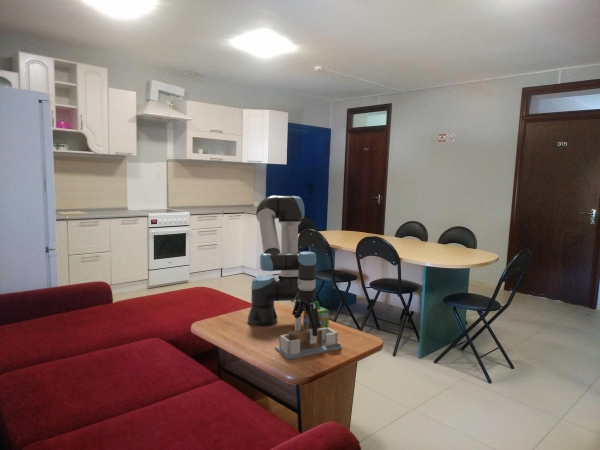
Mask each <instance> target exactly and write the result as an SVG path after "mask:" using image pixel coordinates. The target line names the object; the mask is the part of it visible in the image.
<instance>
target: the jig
mask: <svg viewBox="0 0 600 450" xmlns="http://www.w3.org/2000/svg"><path fill="white" fill-rule="evenodd" d="M342 348H343V347H342V345H341V343H337V344H334V345H329V346H325V340H323V341H322V346H320V347H314V348H309V349H304V350H300V339H296V340H289V333H286V334H285V333H284V334H281V335H279V345H277V346H275V348H274V349H275V350H276V351H278V353H279V354H281V355H282V356H283V357H284V358H285V359H287V360H293V359H297V358H303V357H307V356H314V355H318V354H321V353H327V352H332V351H336V350H342Z"/></svg>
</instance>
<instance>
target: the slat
mask: <svg viewBox="0 0 600 450" xmlns="http://www.w3.org/2000/svg"><path fill="white" fill-rule="evenodd" d="M288 334H289V340H296V339H300V350H304V349H309V348H314V347H320V346H322V330H321V329H319V328H317V343H313V344H310V329H305V330H303V329H301V330H299V331H295V330H294V331H289V332H288Z"/></svg>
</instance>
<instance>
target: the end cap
mask: <svg viewBox="0 0 600 450" xmlns="http://www.w3.org/2000/svg"><path fill="white" fill-rule="evenodd" d="M320 329H321V330H322V341H323V340H325V346H329V345H334V344H338V337H339V333H338V332H337V331H335V330H334V329H332V328H331V327H329V326H328V327H326V328H320Z"/></svg>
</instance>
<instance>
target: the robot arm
mask: <svg viewBox="0 0 600 450" xmlns="http://www.w3.org/2000/svg"><path fill="white" fill-rule="evenodd" d="M304 204H305V203H304V201H303V199H302V198H301V196H298V195H297V196H296V195H270V196H269V195H268V196H267V197H265V198H264V199H262V201H260V202H259V204H258V206H257V208H256V210H255V211H256V213H255V216H256V220H257V222H258V223H259V230H260V237H261V244H262V251H263V252H262V253H261V254H260V257H259V265H260V266H259V268H260V270H261V271H263V272H265V271H266V272H274V271H275V272H278V271H280V272H279V273H278V277H277V278H276V277H275V275H273V274H264V275H258V276H256V277H254V278H253V279H252V280H251V287H250V288H251V298H250V299H251V302H250V303H251V305H250V309H249V313H248V316H247V323H249V325H252V326H256V327H258V326H259V327H266V326H273V325H274V324H275V325H276V323H277V322H278V315H277V312H276V309H275V308H276V307H275V302H283V301H285V302H286V301H289V302H290V301H291V302H293V301H295V303H294V306H293V309H292V313H291V314H292V316H293V317H294V331H299V330H302V314H303V313H304V311H306V313H307V314H308V317H309V321H310V324H311V328H310V344H313V343H317V328H320V327H321V326H320V321H319V316H318V311H317V304H316V303H315V304H313V302H314V299H315V298H316V285H317V284H316V281H317V280H316V278H317V275H316V274H317V272H316V271H317V261H318V260H317V255H316V253H315V252H313V251H299V225H300V224H301V222H302V220H303V219H304V218H305V205H304ZM276 219H278V224H280V225H281V231H280V232H281V233H280V234H281V235H280V236H281V242H280V243H281V245H280V243H279V236H278V232H277V225H276V221H275V220H276ZM280 246H281V248H280Z"/></svg>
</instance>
